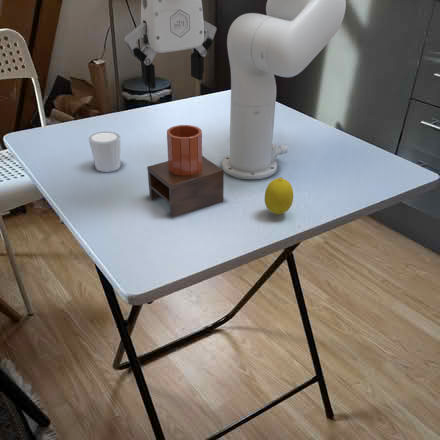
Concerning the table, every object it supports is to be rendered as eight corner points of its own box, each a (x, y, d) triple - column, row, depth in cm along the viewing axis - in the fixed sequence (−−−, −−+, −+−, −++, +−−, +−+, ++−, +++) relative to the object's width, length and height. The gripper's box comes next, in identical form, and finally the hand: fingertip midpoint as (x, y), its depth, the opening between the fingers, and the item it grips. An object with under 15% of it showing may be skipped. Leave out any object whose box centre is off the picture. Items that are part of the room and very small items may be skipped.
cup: (190, 158, 107) (190, 122, 102) (208, 170, 102) (208, 133, 98) (162, 166, 104) (160, 129, 99) (179, 178, 99) (178, 141, 95)
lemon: (271, 224, 100) (274, 186, 95) (258, 211, 104) (261, 174, 99) (296, 218, 102) (300, 181, 97) (282, 205, 106) (286, 169, 101)
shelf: (198, 183, 113) (198, 152, 109) (223, 201, 107) (223, 170, 103) (149, 197, 108) (147, 166, 103) (172, 217, 102) (171, 185, 97)
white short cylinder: (117, 174, 116) (113, 144, 112) (88, 171, 117) (83, 141, 112) (127, 161, 121) (124, 132, 117) (99, 158, 122) (95, 129, 118)
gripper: (130, -22, 77) (139, 96, 88) (227, -29, 84) (225, 80, 95) (110, -28, 82) (121, 84, 93) (203, -35, 89) (203, 70, 100)
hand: (173, 82), depth 94 cm, fingers open, 9 cm apart
